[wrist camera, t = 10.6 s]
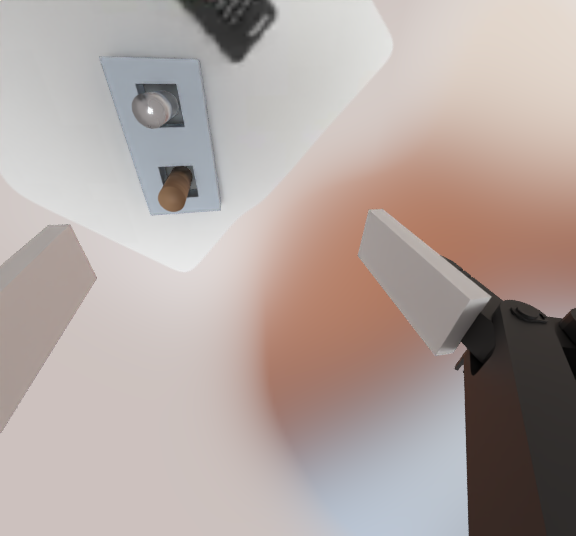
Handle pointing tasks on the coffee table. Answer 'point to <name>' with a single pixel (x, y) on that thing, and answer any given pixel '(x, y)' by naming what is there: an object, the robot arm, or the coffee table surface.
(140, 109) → the grey steel peg
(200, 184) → the socket block
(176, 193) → the walnut peg
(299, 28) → the coffee table surface
